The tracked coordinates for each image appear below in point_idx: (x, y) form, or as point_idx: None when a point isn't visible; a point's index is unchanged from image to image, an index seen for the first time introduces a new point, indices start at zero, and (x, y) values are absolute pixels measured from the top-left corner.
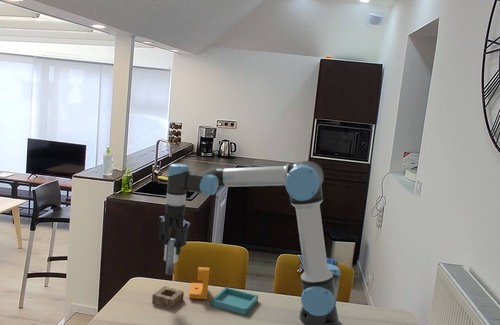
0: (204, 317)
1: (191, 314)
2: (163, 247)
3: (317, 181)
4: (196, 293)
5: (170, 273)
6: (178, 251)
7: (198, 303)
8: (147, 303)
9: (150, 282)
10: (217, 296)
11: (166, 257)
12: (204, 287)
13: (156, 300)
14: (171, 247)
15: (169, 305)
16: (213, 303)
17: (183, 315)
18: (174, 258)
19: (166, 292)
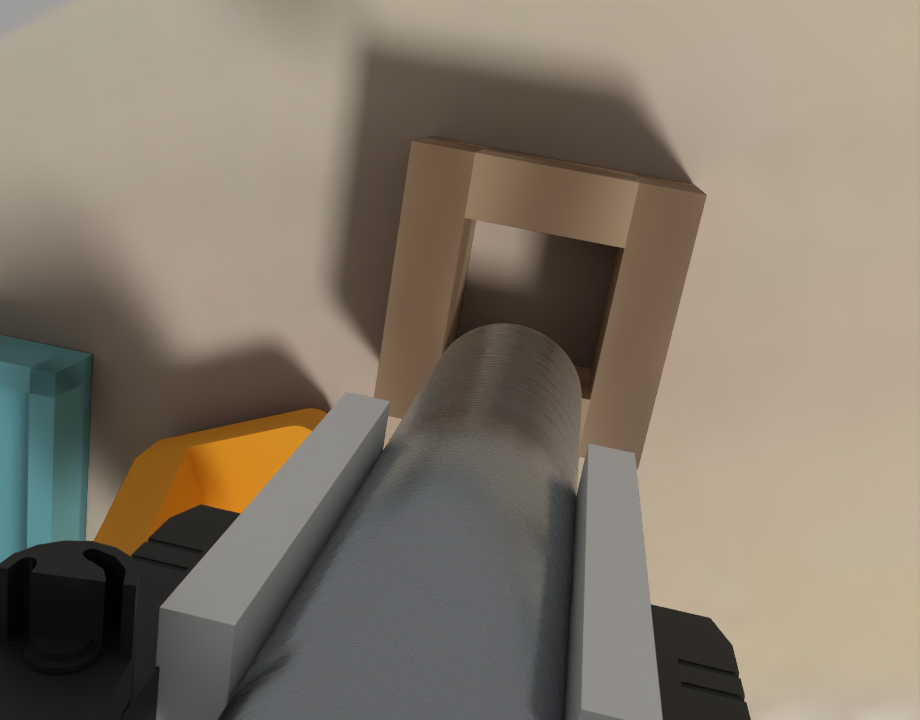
0: (55, 85)
1: (195, 94)
2: (730, 701)
3: None
4: (249, 453)
5: (466, 335)
6: (147, 562)
7: (220, 354)
8: (741, 148)
9: (874, 643)
10: (33, 464)
11: (579, 508)
12: (141, 508)
13: (639, 178)
14: (351, 608)
15: (461, 144)
16: (54, 358)
17: (262, 37)
18: (322, 436)
19: (584, 385)
